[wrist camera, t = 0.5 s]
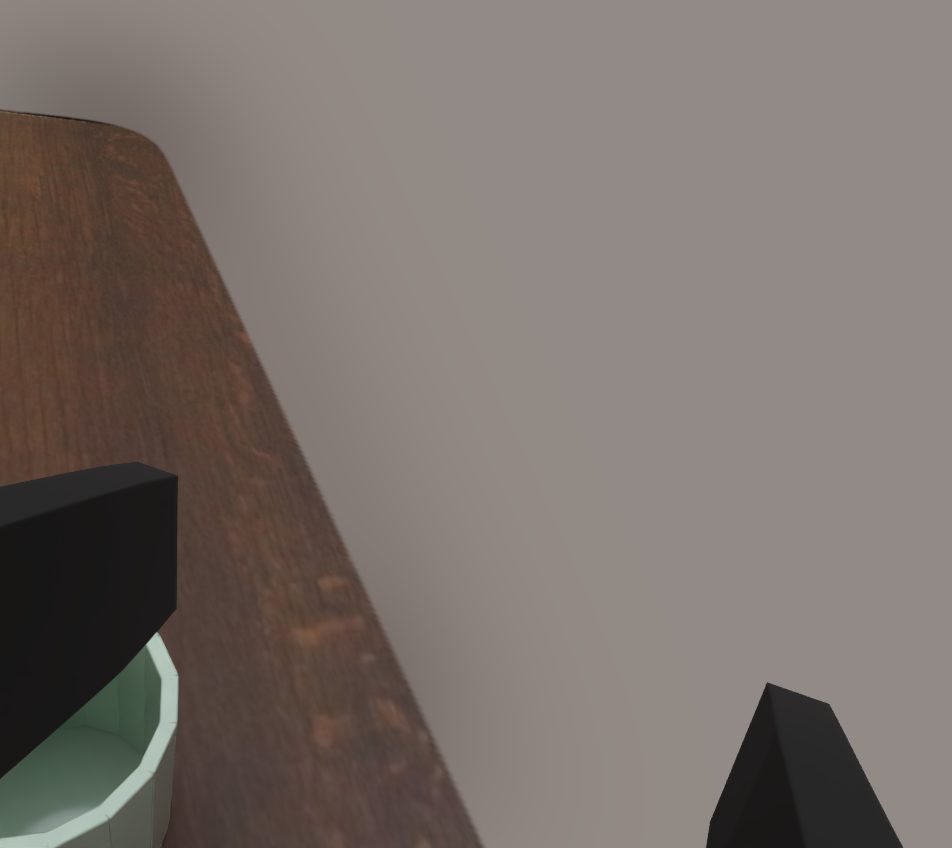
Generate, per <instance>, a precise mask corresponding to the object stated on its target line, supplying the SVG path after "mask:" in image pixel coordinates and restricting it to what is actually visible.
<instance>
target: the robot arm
mask: <svg viewBox="0 0 952 848" xmlns="http://www.w3.org/2000/svg"><path fill="white" fill-rule="evenodd" d="M177 492H178V476H176V475H174V474H171V473H168V472H165V471H162V470H159V469H156V468H154V467H151V466H148V465H145V464H142V463H139V462H132V463H123V464H115V465H109V466H102V467H97V468H91V469H85V470H80V471H75V472H70V473H65V474H60V475H55V476H50V477H45V478H40V479H36V480H31V481H26V482H21V483H17V484H12V485H7V486H2V487H0V779H1V778H2V777H3V776H4V775H5V774H7V773H8V772H9V771H10V770H11V769H12V768H13V767H15V766H16V765H17V764H18V763H19V762H20V761H21V760H23V759H24V758H25V757H26V756H27V755H28V754H29V753H31V752H32V751H33V750H34V749H35V748H36V747H37V746H39V745H40V744H41V743H42V742H43V741H44V740H45V739H47V738H48V737H49V736H50V735H51V734H52V733H53V732H55V731H56V730H57V729H58V728H59V727H60V726H61V725H63V724H64V723H65V722H66V721H67V720H68V719H69V718H71V717H72V716H73V715H74V714H75V713H76V712H77V711H78V710H80V709H81V708H82V707H83V706H84V705H85V704H86V703H87V702H88V701H90V700H91V699H92V698H93V697H94V696H95V695H96V694H97V693H99V692H100V691H101V690H102V689H103V688H104V687H105V686H106V685H107V684H109V683H110V682H111V681H112V680H113V679H114V678H115V677H116V676H117V675H118V674H119V673H120V672H122V670H123V669H124V668H125V667H126V666H127V665H128V664H129V663H130V662H131V661H132V659H133V658H134V657H135V656H136V655H137V654H138V653H139V652H140V651H141V650H142V649H143V647H144V646H145V645H146V644H147V643H148V642H149V641H150V639H151V638H152V637H153V636H154V635H155V633H156V632H157V631H158V630H159V629H160V628H161V626H162V625H163V624H164V623H165V622H166V620H167V619H168V618H169V617H170V616H171V614H172V613H173V612H174V611H175V610H176V599H177ZM706 848H903V846H902V844H901V843H900V841H899V839H898V837H897V835H896V833H895V831H894V829H893V827H892V826H891V824H890V822H889V820H888V818H887V816H886V814H885V812H884V810H883V808H882V806H881V804H880V803H879V801H878V799H877V797H876V795H875V793H874V791H873V789H872V787H871V785H870V783H869V781H868V779H867V777H866V775H865V773H864V771H863V769H862V767H861V765H860V763H859V761H858V759H857V757H856V755H855V753H854V751H853V749H852V747H851V745H850V743H849V741H848V739H847V737H846V735H845V733H844V731H843V729H842V727H841V726H840V724H839V722H838V720H837V718H836V716H835V714H834V712H833V710H832V708H831V707H830V705H829V704H827V703H825V702H822V701H819V700H816V699H813V698H810V697H807V696H805V695H802V694H799V693H796V692H793V691H790V690H787V689H784V688H782V687H779V686H776V685H773V684H770V683H767V684H766V687H765V689H764V692H763V694H762V697H761V699H760V701H759V704H758V706H757V709H756V711H755V714H754V716H753V718H752V721H751V723H750V726H749V728H748V731H747V733H746V735H745V738H744V741H743V743H742V745H741V748H740V750H739V753H738V755H737V757H736V760H735V762H734V765H733V767H732V770H731V772H730V774H729V777H728V780H727V782H726V785H725V787H724V789H723V792H722V794H721V797H720V799H719V801H718V804H717V806H716V809H715V811H714V814H713V817H712V818H711V821H710V826H709V833H708V839H707V845H706Z"/></svg>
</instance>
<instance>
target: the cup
mask: <svg viewBox="0 0 952 848" xmlns="http://www.w3.org/2000/svg"><path fill="white" fill-rule="evenodd" d="M178 688H179V677H178V673H177V671H176V668H175V666H174V664H173V662H172V660H171V658H170V655H169V653H168V651H167V649H166V647H165V644H164V642H163V640H162V638H161V636H159V634H158V633H157V632H156V633H155V635H154V636H153V637H152V638H151V639H150V641H149V642H148V643H147V644H146V645H145V646H144V647H143V649H142V650H141V651H140V652H139V653H138V654H137V655H136V656H135V657H134V658H133V659H132V661H131V662H130V663H129V664H128V665H127V666H126V667H125V668H124V669H123V670H122V672H120V673H119V674H118V675H117V676H116V677H115V678H114V679H113V680H112V681H111V682H110V683H109V684H107V685H106V686H105V687H104V688H103V689H102V690H101V691H100V692H99V693H97V694H96V695H95V696H94V697H93V698H92V699H91V700H90V701H88V702H87V703H86V704H85V705H84V706H83V707H82V708H81V709H80V710H78V711H77V712H76V713H75V714H74V715H73V716H72V717H71V718H69V719H68V720H67V721H66V722H65V723H64V724H63V725H61V726H60V727H59V728H58V729H57V730H56V731H55V732H53V733H52V734H51V735H50V736H49V737H48V738H47V739H45V740H44V741H43V742H42V743H41V744H40V745H39V746H37V747H36V748H35V749H34V750H33V751H32V752H31V753H29V754H28V755H27V756H26V757H25V758H24V759H23V760H21V761H20V762H19V763H18V764H17V765H16V766H15V767H13V768H12V769H11V770H10V771H9V772H8V773H7V774H5V775H4V776H3V777H2V778H1V779H0V848H161V847H162V845H163V842H164V839H165V835H166V831H167V829H168V826H169V822H170V809H171V797H172V785H173V773H174V760H175V748H176V736H177V724H178Z"/></svg>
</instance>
